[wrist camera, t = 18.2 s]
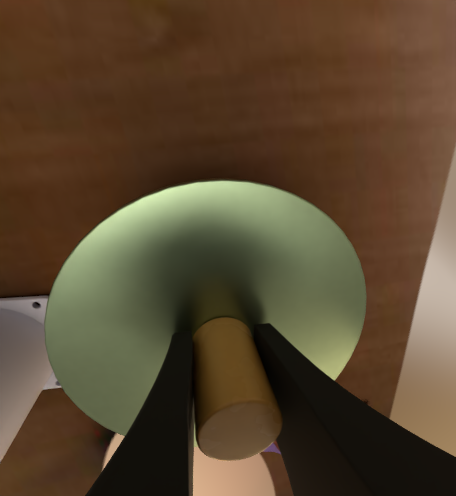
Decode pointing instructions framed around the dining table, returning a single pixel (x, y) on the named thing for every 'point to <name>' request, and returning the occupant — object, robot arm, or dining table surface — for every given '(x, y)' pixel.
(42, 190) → the dining table surface
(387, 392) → the dining table surface
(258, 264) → the tin lid
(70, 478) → the dining table surface
